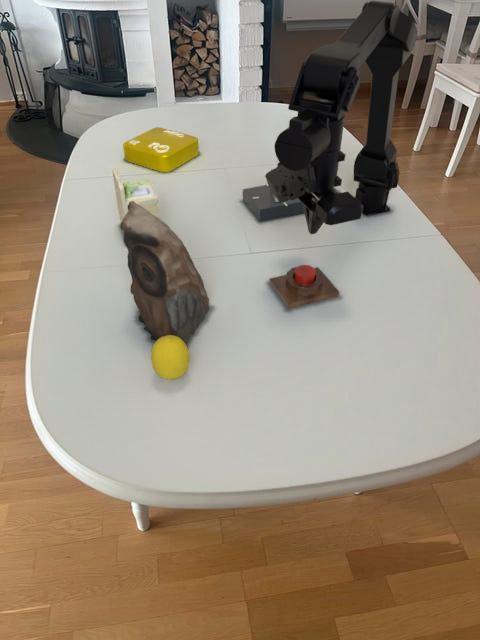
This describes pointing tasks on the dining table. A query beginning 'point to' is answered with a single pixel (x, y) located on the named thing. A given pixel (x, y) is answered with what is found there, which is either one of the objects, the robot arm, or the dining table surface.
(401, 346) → the dining table surface
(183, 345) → the lemon
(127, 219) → the owl
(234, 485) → the dining table surface
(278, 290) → the button block
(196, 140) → the element tile
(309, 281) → the button
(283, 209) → the plate
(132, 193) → the toy sink
